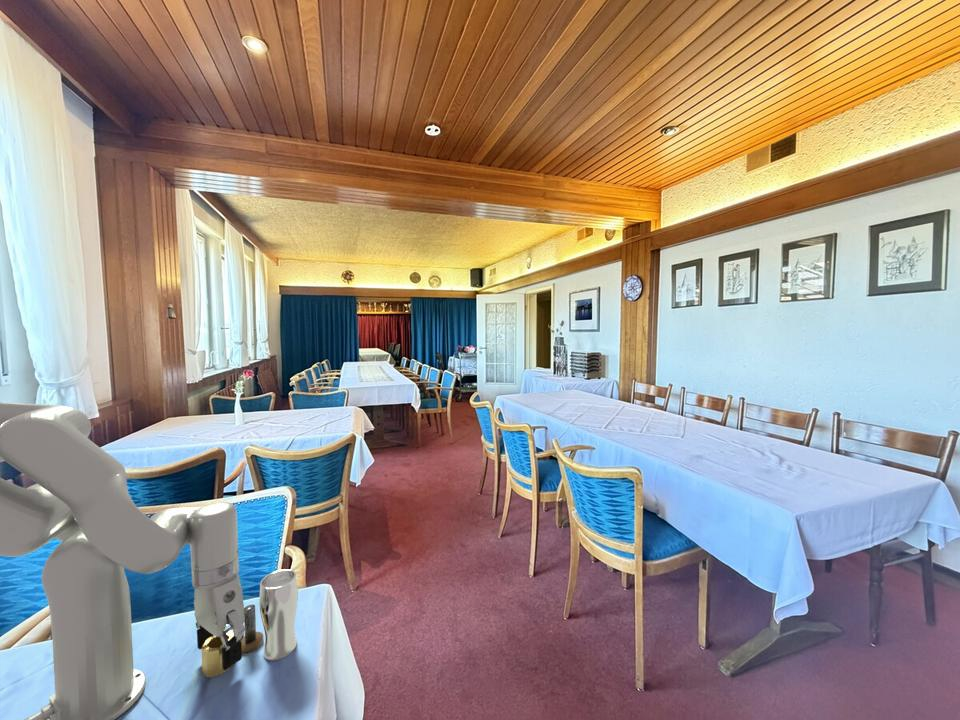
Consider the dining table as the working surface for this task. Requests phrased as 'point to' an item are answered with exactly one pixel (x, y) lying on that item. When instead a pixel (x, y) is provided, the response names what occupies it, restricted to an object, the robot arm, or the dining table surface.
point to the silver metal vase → (279, 613)
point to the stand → (251, 631)
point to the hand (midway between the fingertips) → (219, 653)
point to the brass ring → (213, 656)
